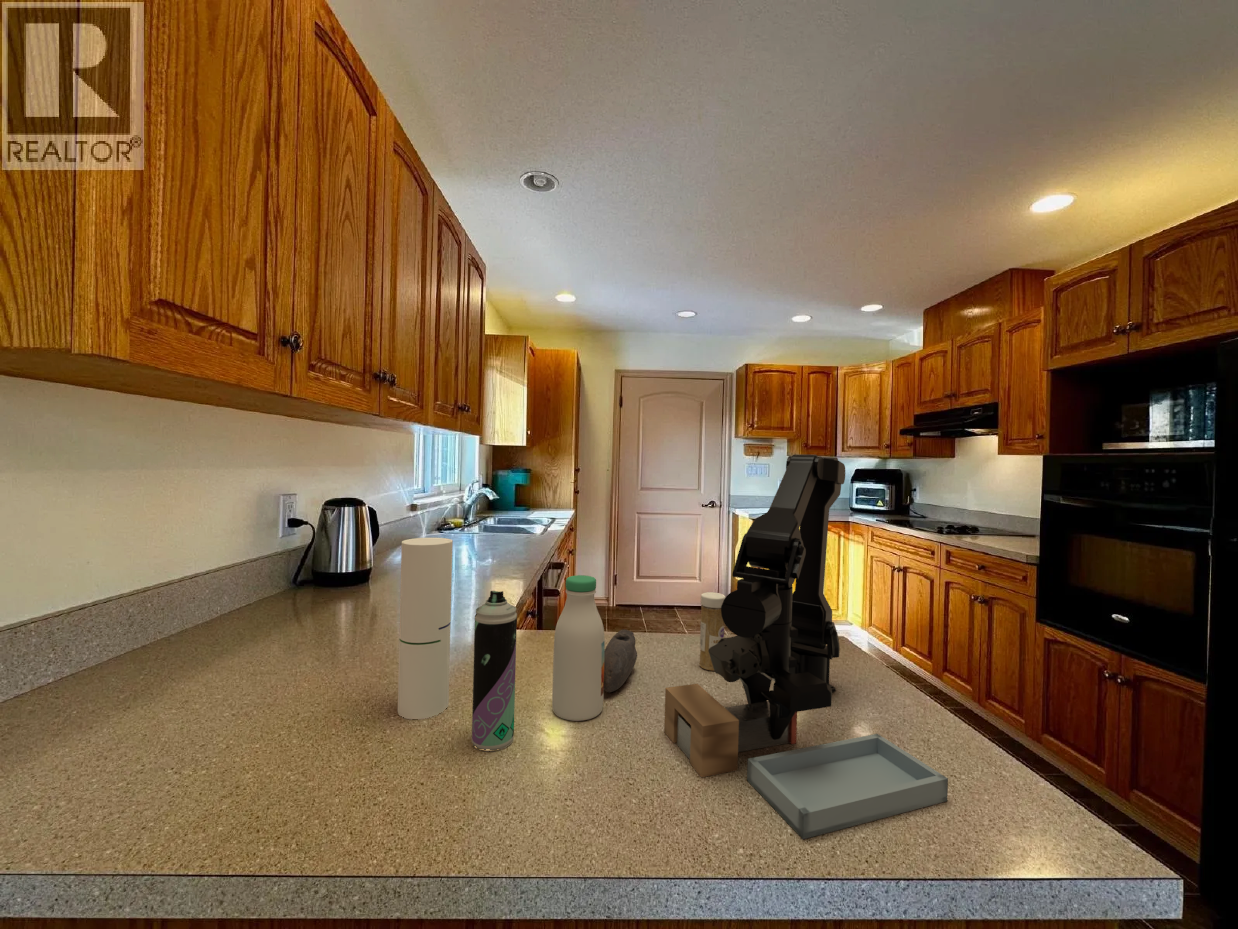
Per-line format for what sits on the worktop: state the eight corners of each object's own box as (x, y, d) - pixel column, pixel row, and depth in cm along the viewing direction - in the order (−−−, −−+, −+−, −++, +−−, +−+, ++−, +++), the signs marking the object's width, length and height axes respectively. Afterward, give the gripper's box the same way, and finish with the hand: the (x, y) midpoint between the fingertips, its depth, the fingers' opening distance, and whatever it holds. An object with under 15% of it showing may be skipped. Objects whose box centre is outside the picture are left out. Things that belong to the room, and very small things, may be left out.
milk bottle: (596, 725, 73) (599, 585, 73) (544, 719, 75) (548, 581, 74) (608, 701, 81) (611, 574, 80) (561, 695, 82) (564, 570, 82)
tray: (876, 753, 68) (877, 733, 68) (947, 801, 59) (948, 778, 59) (747, 780, 61) (747, 758, 61) (803, 839, 52) (803, 814, 52)
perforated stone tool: (620, 703, 80) (621, 659, 80) (588, 698, 82) (589, 654, 82) (640, 666, 95) (641, 629, 95) (613, 663, 96) (614, 626, 96)
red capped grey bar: (774, 725, 74) (775, 693, 74) (796, 743, 70) (797, 708, 70) (675, 742, 69) (676, 707, 69) (692, 763, 65) (693, 725, 65)
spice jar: (720, 673, 92) (722, 599, 92) (696, 668, 94) (698, 595, 94) (725, 664, 97) (728, 593, 97) (702, 660, 98) (704, 590, 98)
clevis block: (696, 726, 74) (697, 683, 74) (737, 770, 63) (738, 720, 63) (664, 732, 72) (665, 687, 72) (701, 777, 62) (702, 726, 62)
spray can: (476, 755, 65) (480, 598, 65) (467, 734, 70) (471, 588, 70) (518, 745, 67) (522, 594, 67) (507, 726, 72) (511, 584, 72)
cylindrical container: (458, 703, 79) (462, 540, 78) (422, 724, 72) (427, 546, 72) (423, 692, 82) (427, 536, 81) (386, 712, 75) (390, 542, 75)
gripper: (686, 603, 77) (683, 707, 77) (759, 647, 60) (755, 781, 60) (750, 599, 81) (747, 698, 81) (837, 639, 63) (832, 765, 63)
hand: (766, 730), depth 71 cm, fingers closed on red capped grey bar, 4 cm apart
